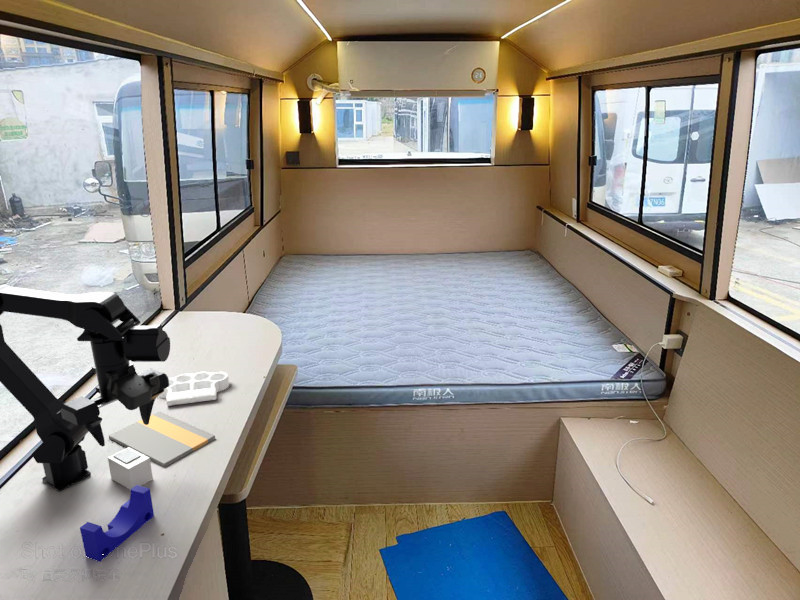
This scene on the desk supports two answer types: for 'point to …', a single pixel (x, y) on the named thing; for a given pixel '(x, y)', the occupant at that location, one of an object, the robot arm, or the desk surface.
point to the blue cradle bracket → (118, 525)
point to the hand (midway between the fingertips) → (125, 434)
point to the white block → (130, 468)
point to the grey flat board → (162, 438)
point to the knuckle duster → (194, 387)
